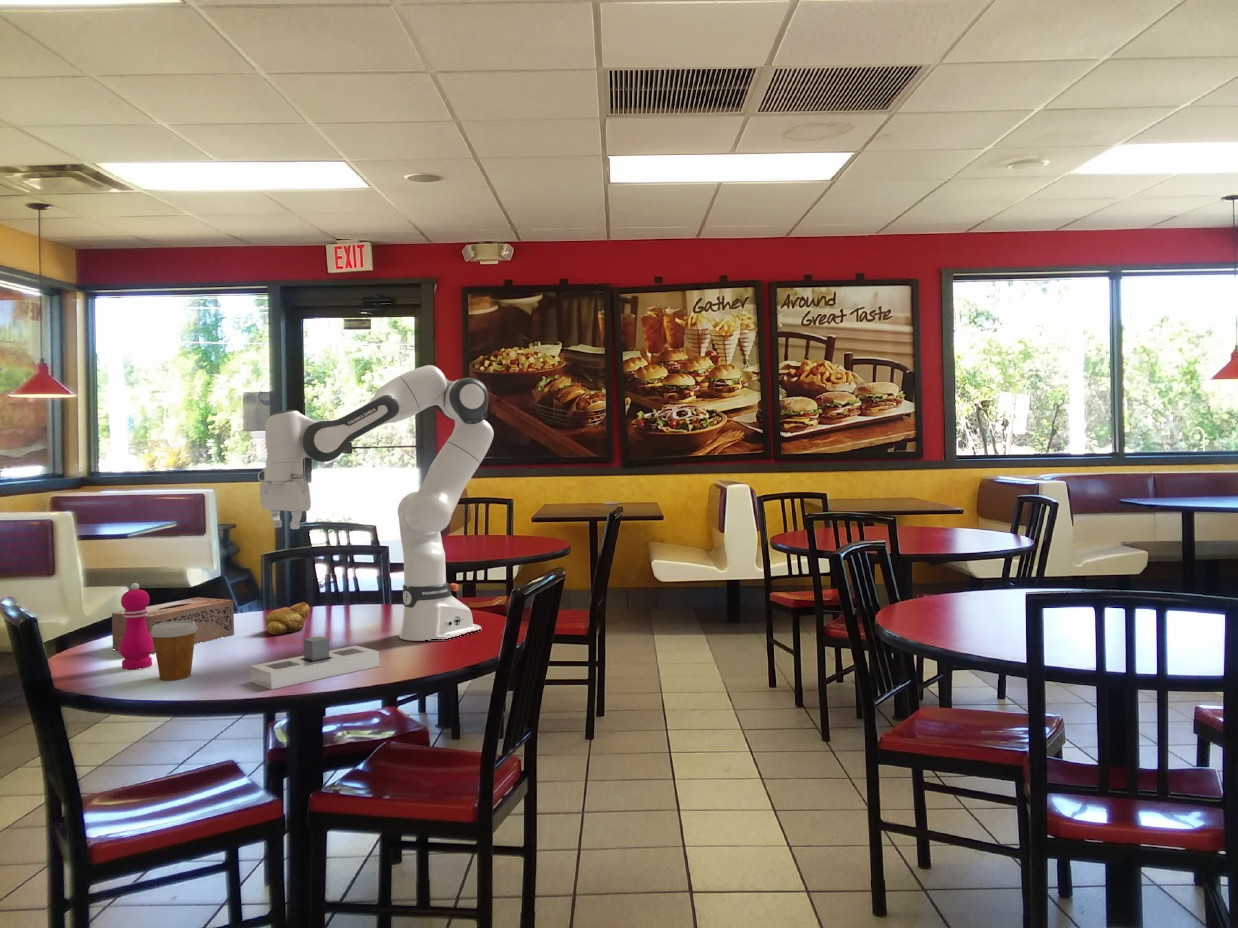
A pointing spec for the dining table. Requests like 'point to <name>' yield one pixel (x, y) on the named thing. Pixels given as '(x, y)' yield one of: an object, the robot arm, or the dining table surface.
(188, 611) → the tissue box cover
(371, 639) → the dining table surface
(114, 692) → the dining table surface
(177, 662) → the disposable coffee cup
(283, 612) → the bread roll
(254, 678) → the rail
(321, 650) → the peg
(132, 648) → the pepper mill
